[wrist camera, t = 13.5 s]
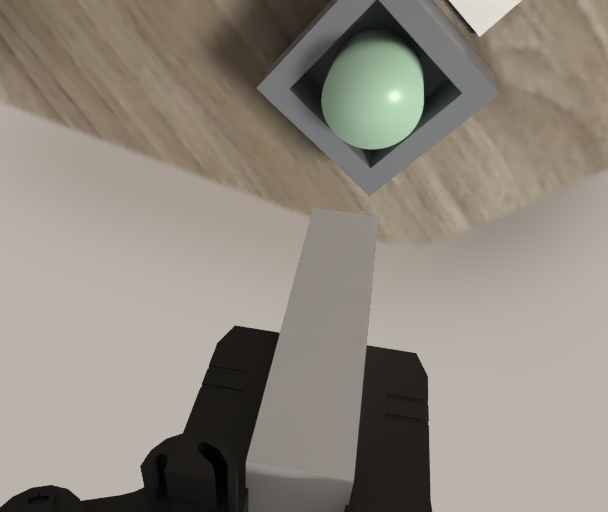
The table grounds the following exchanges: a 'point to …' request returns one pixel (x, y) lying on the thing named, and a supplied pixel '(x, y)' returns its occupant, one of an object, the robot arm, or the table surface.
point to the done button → (374, 90)
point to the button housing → (436, 76)
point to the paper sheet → (483, 12)
